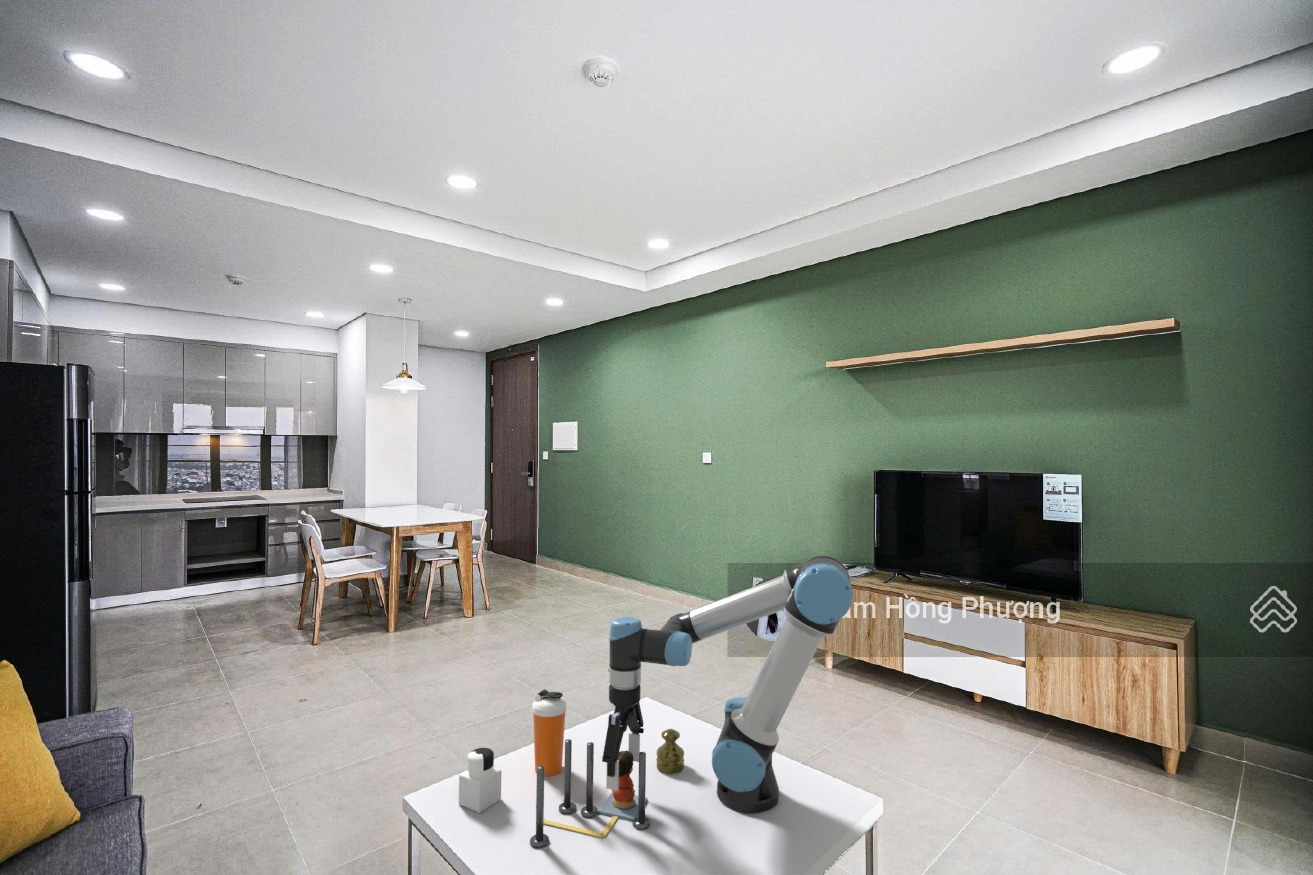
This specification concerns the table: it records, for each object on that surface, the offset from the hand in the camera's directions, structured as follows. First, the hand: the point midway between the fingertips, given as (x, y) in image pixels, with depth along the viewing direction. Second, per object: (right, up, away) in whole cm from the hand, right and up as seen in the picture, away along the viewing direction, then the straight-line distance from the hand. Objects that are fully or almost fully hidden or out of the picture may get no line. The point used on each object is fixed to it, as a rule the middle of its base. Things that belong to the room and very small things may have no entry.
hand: (623, 774), depth 147 cm
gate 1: (-15, -7, -8) cm, 19 cm away
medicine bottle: (-35, -8, +1) cm, 35 cm away
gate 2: (-2, -8, -5) cm, 9 cm away
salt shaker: (+11, -8, +18) cm, 23 cm away
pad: (0, -8, 0) cm, 8 cm away
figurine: (0, -7, 0) cm, 7 cm away
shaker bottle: (-21, -8, +17) cm, 28 cm away
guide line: (-10, -8, -6) cm, 14 cm away
